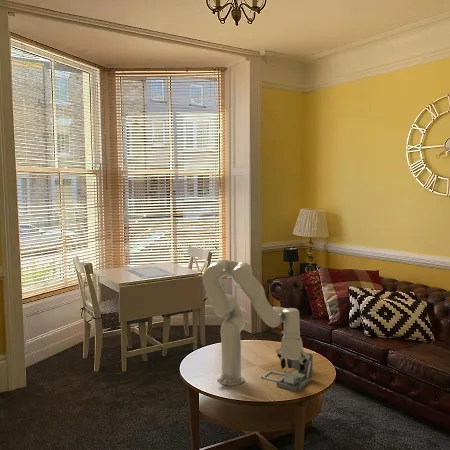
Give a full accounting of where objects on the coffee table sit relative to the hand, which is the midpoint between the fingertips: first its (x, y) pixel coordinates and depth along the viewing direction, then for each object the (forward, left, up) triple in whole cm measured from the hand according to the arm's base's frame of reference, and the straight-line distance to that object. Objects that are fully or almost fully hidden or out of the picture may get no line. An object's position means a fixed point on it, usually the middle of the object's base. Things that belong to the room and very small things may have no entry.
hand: (292, 369), depth 231 cm
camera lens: (+23, +10, -9) cm, 26 cm away
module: (0, +1, -8) cm, 8 cm away
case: (+4, +1, -9) cm, 10 cm away
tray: (+5, +12, -9) cm, 16 cm away
